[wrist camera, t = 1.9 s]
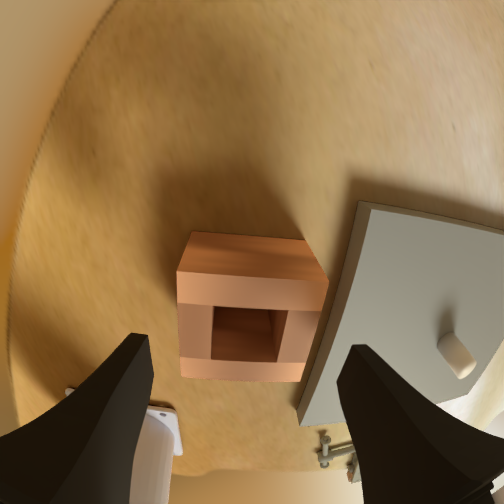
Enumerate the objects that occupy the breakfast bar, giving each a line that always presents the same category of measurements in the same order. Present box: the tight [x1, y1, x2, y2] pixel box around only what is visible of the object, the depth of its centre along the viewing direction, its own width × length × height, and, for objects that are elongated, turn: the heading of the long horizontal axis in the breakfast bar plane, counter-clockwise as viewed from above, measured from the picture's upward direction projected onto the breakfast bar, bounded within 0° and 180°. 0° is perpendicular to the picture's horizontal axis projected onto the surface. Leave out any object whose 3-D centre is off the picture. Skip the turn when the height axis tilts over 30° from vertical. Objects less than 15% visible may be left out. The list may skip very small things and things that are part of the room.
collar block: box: [177, 231, 329, 382], centre depth 13 cm, size 5×5×4 cm
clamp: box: [317, 436, 361, 483], centre depth 24 cm, size 15×2×10 cm
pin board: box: [297, 201, 504, 427], centre depth 15 cm, size 18×16×4 cm
